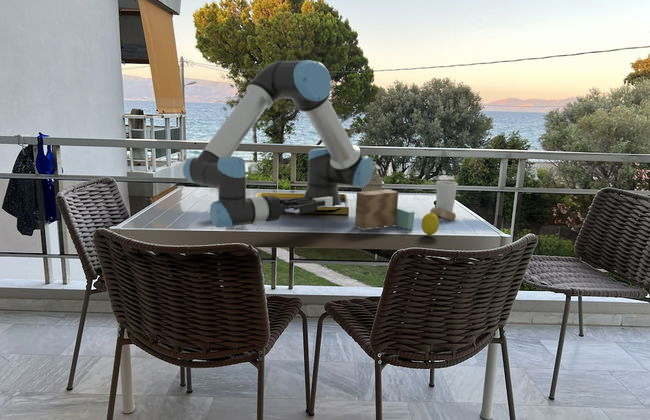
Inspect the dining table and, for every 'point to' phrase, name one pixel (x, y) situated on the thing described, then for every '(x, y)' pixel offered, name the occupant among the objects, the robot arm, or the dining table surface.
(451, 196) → the cup
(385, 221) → the slab
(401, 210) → the rail
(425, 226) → the lemon
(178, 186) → the dining table surface
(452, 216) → the roller
